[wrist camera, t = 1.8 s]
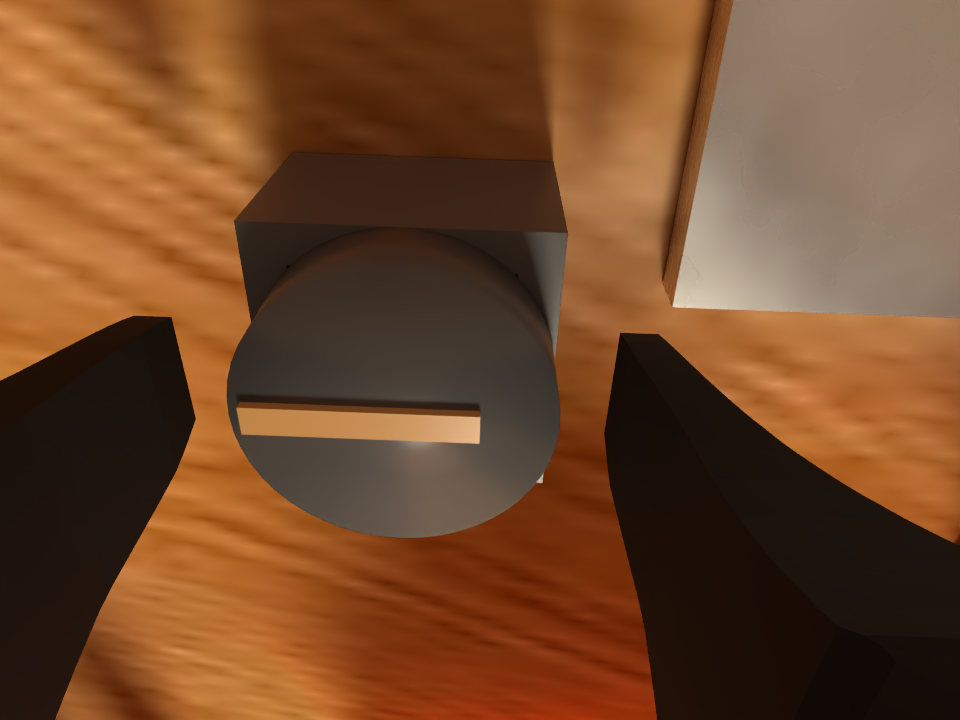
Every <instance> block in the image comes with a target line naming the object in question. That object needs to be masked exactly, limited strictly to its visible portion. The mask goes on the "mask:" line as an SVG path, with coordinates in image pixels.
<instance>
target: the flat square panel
mask: <svg viewBox="0 0 960 720" xmlns="http://www.w3.org/2000/svg"><path fill="white" fill-rule="evenodd" d="M663 286H664V289H665V291H666V294H667V296H668V298H669V301H670V303H671V305H672V307H680V308H706V309H733V310H759V311H786V312H813V313H839V314H866V315H892V316H919V317H945V318H960V0H716V2H715V7H714V13H713V18H712V23H711V29H710V34H709V39H708V45H707V50H706V55H705V61H704V66H703V71H702V77H701V82H700V87H699V93H698V98H697V104H696V109H695V114H694V120H693V125H692V130H691V136H690V141H689V146H688V152H687V157H686V162H685V168H684V173H683V178H682V184H681V189H680V194H679V200H678V205H677V210H676V216H675V221H674V227H673V232H672V237H671V243H670V248H669V253H668V259H667V264H666V269H665V275H664V280H663Z"/></svg>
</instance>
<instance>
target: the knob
mask: <svg viewBox="0 0 960 720" xmlns="http://www.w3.org/2000/svg"><path fill="white" fill-rule="evenodd" d="M234 223H235V229H236V235H237V241H238V247H239V253H240V259H241V265H242V271H243V277H244V283H245V289H246V295H247V301H248V306H249V312H250V318H251V324H250V326H249V328H248V329H247V331H246V333H245V334H244V336H243V338H242V339H241V341H240V343H239V344H238V346H237V349H236V351H235V354H234V356H233V359H232V361H231V365H230V370H229V374H228V379H227V404H228V412H229V417H230V421H231V424H232V428H233V431H234V434H235V436H236V438H237V440H238V442H239V445H240V447H241V449H242V450H243V452H244V454H245V455H246V457H247V458H248V460H249V462H250V463H251V464H252V466H253V467H254V468H255V469H256V471H257V472H258V473H259V474H260V475H261V477H262V478H263V479H264V480H265V481H266V482H267V483H268V484H269V485H270V486H271V487H272V488H273V489H275V490H276V491H277V492H278V493H279V494H281V495H282V496H283V497H285V498H286V499H287V500H288V501H290V502H291V503H293V504H294V505H296V506H298V507H299V508H301V509H302V510H304V511H306V512H307V513H309V514H311V515H313V516H315V517H317V518H320V519H322V520H324V521H326V522H329V523H331V524H334V525H337V526H339V527H342V528H345V529H349V530H353V531H356V532H360V533H365V534H370V535H376V536H383V537H394V538H422V537H432V536H440V535H445V534H450V533H455V532H458V531H461V530H465V529H468V528H471V527H474V526H476V525H479V524H481V523H483V522H486V521H488V520H490V519H492V518H494V517H496V516H497V515H499V514H501V513H503V512H504V511H506V510H507V509H509V508H510V507H511V506H513V505H514V504H515V503H517V502H518V501H519V500H520V499H521V498H522V497H523V496H525V495H526V494H527V493H528V492H529V491H530V490H531V489H532V488H533V486H534V485H535V484H536V483H542V482H543V473H544V471H545V469H546V467H547V466H548V464H549V462H550V460H551V458H552V455H553V452H554V450H555V447H556V444H557V439H558V434H559V429H560V403H559V395H558V386H557V377H556V369H555V354H556V345H557V335H558V325H559V315H560V305H561V295H562V286H563V276H564V266H565V256H566V246H567V237H568V231H567V226H566V221H565V216H564V211H563V206H562V201H561V196H560V191H559V187H558V182H557V177H556V172H555V167H554V162H546V161H518V160H491V159H463V158H436V157H408V156H381V155H353V154H326V153H298V152H292V153H291V154H290V156H289V157H288V158H287V159H286V160H285V161H284V163H283V164H282V165H281V166H280V167H279V169H278V170H277V171H276V172H275V173H274V174H273V176H272V177H271V178H270V179H269V180H268V181H267V183H266V184H265V185H264V186H263V187H262V189H261V190H260V191H259V192H258V193H257V194H256V196H255V197H254V198H253V199H252V200H251V201H250V203H249V204H248V205H247V206H246V207H245V209H244V210H243V211H242V212H241V213H240V214H239V216H238V217H237V218H236V219H235V220H234Z"/></svg>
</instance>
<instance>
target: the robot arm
mask: <svg viewBox="0 0 960 720" xmlns="http://www.w3.org/2000/svg"><path fill="white" fill-rule="evenodd" d="M195 420H196V418H195V414H194V410H193V405H192V401H191V397H190V393H189V389H188V384H187V380H186V376H185V372H184V368H183V364H182V359H181V355H180V351H179V347H178V343H177V338H176V334H175V330H174V326H173V322H172V317H154V316H132V317H129V318H127V319H124V320H121V321H119V322H117V323H114V324H112V325H110V326H108V327H106V328H104V329H102V330H100V331H98V332H95V333H93V334H91V335H89V336H88V337H86V338H84V339H82V340H80V341H78V342H76V343H74V344H72V345H70V346H68V347H66V348H64V349H62V350H60V351H58V352H56V353H54V354H52V355H51V356H49V357H47V358H45V359H43V360H41V361H39V362H37V363H35V364H33V365H31V366H29V367H27V368H25V369H23V370H21V371H19V372H17V373H15V374H13V375H11V376H9V377H7V378H5V379H3V380H1V381H0V720H55V718H56V715H57V713H58V710H59V708H60V705H61V703H62V700H63V698H64V695H65V692H66V690H67V687H68V685H69V682H70V680H71V677H72V675H73V672H74V670H75V667H76V665H77V662H78V660H79V658H80V655H81V653H82V651H83V648H84V646H85V644H86V641H87V639H88V637H89V634H90V632H91V630H92V627H93V625H94V623H95V620H96V618H97V616H98V613H99V611H100V609H101V607H102V605H103V603H104V601H105V599H106V597H107V595H108V593H109V591H110V589H111V587H112V585H113V584H114V582H115V580H116V578H117V576H118V575H119V573H120V571H121V569H122V568H123V566H124V564H125V562H126V561H127V559H128V557H129V555H130V553H131V552H132V550H133V548H134V546H135V545H136V543H137V541H138V539H139V538H140V536H141V534H142V532H143V530H144V529H145V527H146V525H147V523H148V522H149V520H150V518H151V516H152V515H153V513H154V511H155V509H156V507H157V506H158V504H159V502H160V500H161V498H162V497H163V495H164V493H165V491H166V489H167V487H168V486H169V484H170V482H171V480H172V478H173V476H174V474H175V473H176V471H177V468H178V466H179V463H180V461H181V458H182V456H183V453H184V451H185V448H186V445H187V442H188V440H189V437H190V434H191V431H192V428H193V425H194V422H195ZM604 435H605V445H606V455H607V464H608V473H609V481H610V488H611V492H612V496H613V500H614V504H615V508H616V512H617V516H618V520H619V525H620V529H621V533H622V536H623V540H624V544H625V548H626V552H627V556H628V560H629V564H630V568H631V572H632V576H633V580H634V584H635V588H636V592H637V596H638V600H639V604H640V608H641V613H642V618H643V623H644V628H645V633H646V640H647V647H648V655H649V662H650V669H651V676H652V683H653V690H654V697H655V705H656V713H657V720H960V546H959V545H957V544H955V543H953V542H951V541H948V540H946V539H944V538H942V537H940V536H938V535H936V534H934V533H932V532H930V531H928V530H926V529H924V528H922V527H920V526H918V525H916V524H914V523H912V522H910V521H908V520H906V519H904V518H903V517H901V516H899V515H897V514H895V513H894V512H892V511H890V510H888V509H886V508H885V507H883V506H881V505H879V504H877V503H876V502H874V501H872V500H870V499H868V498H867V497H865V496H863V495H861V494H860V493H858V492H856V491H855V490H853V489H851V488H850V487H848V486H846V485H845V484H843V483H841V482H840V481H838V480H837V479H835V478H833V477H832V476H830V475H829V474H827V473H826V472H824V471H823V470H821V469H820V468H818V467H817V466H815V465H814V464H812V463H811V462H809V461H808V460H806V459H805V458H803V457H802V456H800V455H799V454H797V453H796V452H795V451H793V450H792V449H790V448H789V447H788V446H786V445H785V444H784V443H782V442H781V441H780V440H778V439H777V438H776V437H774V436H773V435H772V434H771V433H769V432H768V431H767V430H766V429H764V428H763V427H762V426H760V425H759V424H758V423H757V422H755V421H754V420H753V419H752V418H750V417H749V416H748V415H747V414H746V413H744V412H743V411H742V410H741V409H740V408H738V407H737V406H736V405H735V404H734V403H733V402H731V401H730V400H729V399H728V398H727V397H726V396H725V395H724V394H722V393H721V392H720V391H719V390H718V389H717V388H716V387H715V386H714V385H712V384H711V383H710V382H709V381H708V380H707V379H706V378H705V377H704V376H703V375H702V374H701V373H700V372H698V371H697V370H696V369H695V368H694V367H693V366H692V365H691V364H690V363H689V362H688V361H687V360H686V359H685V358H684V357H683V356H682V355H681V354H680V353H678V352H677V351H676V350H675V349H674V348H673V347H672V346H671V345H670V344H669V343H668V342H667V341H666V340H665V339H663V338H662V337H661V336H660V335H659V334H634V333H620V338H619V344H618V350H617V357H616V363H615V369H614V376H613V382H612V388H611V395H610V401H609V407H608V414H607V420H606V426H605V433H604Z"/></svg>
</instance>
